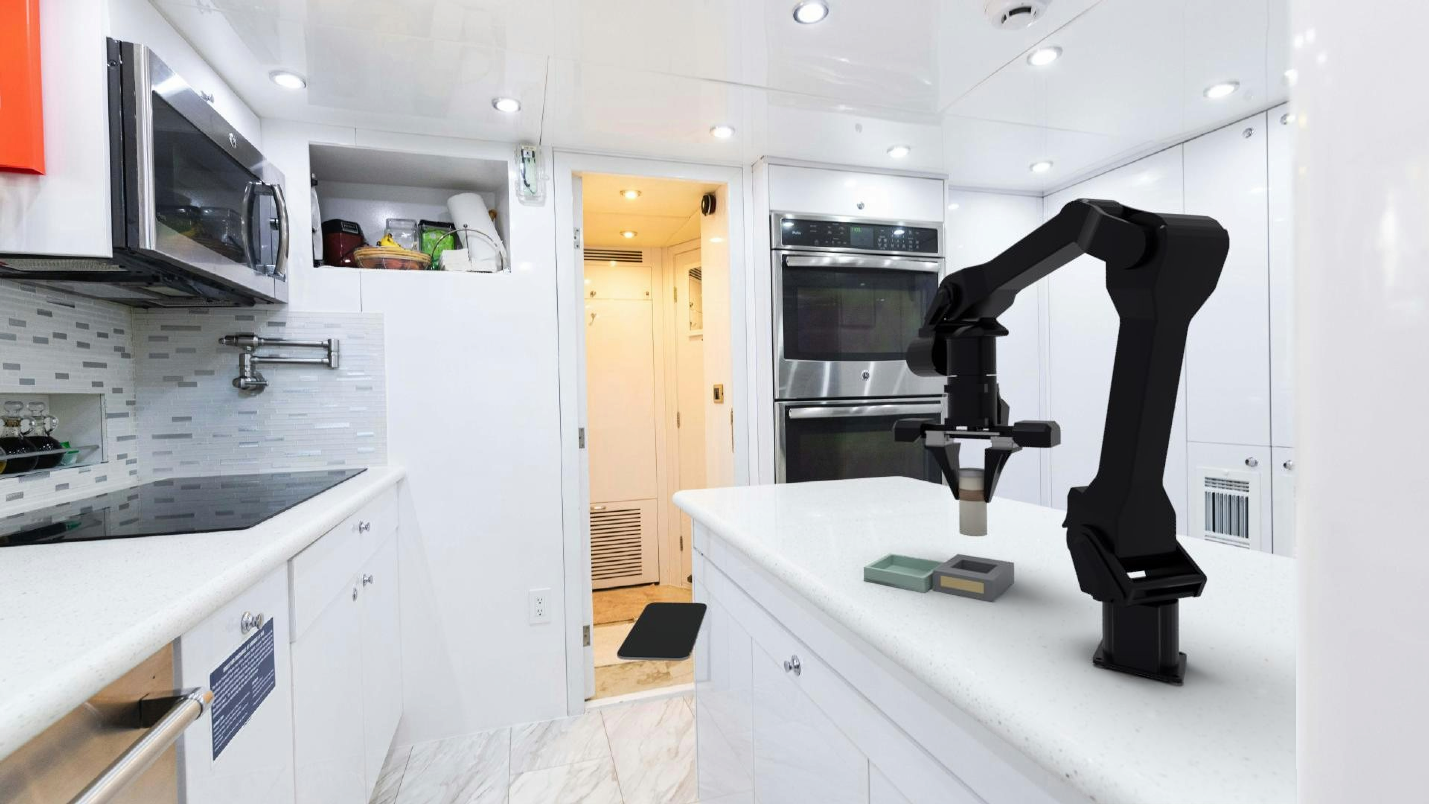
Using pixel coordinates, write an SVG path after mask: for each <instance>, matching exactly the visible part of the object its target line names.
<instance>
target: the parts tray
mask: <svg viewBox="0 0 1429 804" xmlns="http://www.w3.org/2000/svg"><path fill="white" fill-rule="evenodd" d="M945 562H946V561H945ZM945 562H944V561H939V560H932V559H926V558H920V557H914V556H909V555H902V554H895V553H891V552H890V553H888V554H886V555H884V556H882V557H880V558H879V559H877V560H874V561H872V562H870V563H869V564H867V565H865V566H864V567H863V581H864V582H869V583H874V584H877V585H878V584H879V585H884V586H888V587H892V588H898V589H904V590H908V591H915V592H920V593H924V594H925V593H926V592H928V591H929V590H931V589H933V570H934V569H935V568H937V567H939V566H940V565H942V564H943V563H945Z"/></svg>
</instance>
